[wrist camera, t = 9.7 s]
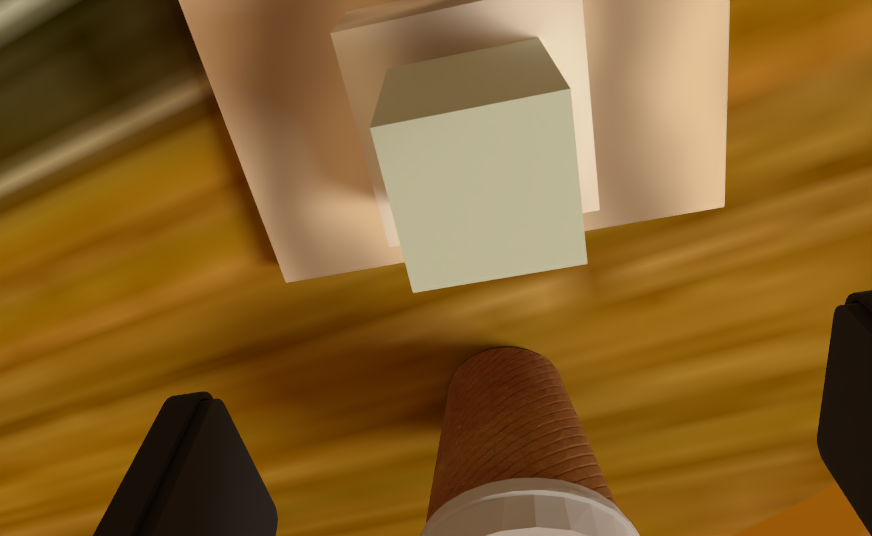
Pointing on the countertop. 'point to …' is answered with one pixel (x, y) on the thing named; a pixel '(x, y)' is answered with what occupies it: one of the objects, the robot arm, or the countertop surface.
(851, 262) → the countertop surface
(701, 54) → the stack base
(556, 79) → the sage block
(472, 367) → the disposable coffee cup
